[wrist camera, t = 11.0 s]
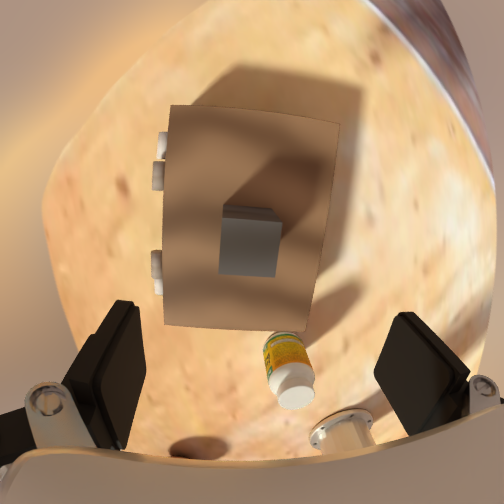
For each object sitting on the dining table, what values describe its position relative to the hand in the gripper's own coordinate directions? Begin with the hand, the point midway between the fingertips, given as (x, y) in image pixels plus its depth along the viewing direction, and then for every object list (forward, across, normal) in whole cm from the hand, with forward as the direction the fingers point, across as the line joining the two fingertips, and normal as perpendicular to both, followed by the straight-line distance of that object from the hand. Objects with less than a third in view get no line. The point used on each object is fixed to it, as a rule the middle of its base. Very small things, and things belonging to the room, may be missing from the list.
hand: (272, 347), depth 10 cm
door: (+17, 0, 0) cm, 17 cm away
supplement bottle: (+22, -7, +17) cm, 29 cm away
